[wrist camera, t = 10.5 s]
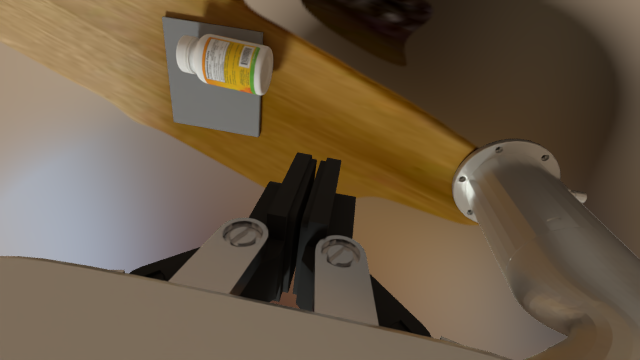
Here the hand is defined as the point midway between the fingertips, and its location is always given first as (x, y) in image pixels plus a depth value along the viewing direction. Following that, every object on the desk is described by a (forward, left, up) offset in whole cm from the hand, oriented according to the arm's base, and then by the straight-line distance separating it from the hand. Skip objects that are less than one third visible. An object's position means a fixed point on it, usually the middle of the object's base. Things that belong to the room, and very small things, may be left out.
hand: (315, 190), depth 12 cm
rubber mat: (+17, +5, -29) cm, 34 cm away
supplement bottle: (+9, +2, -26) cm, 27 cm away
